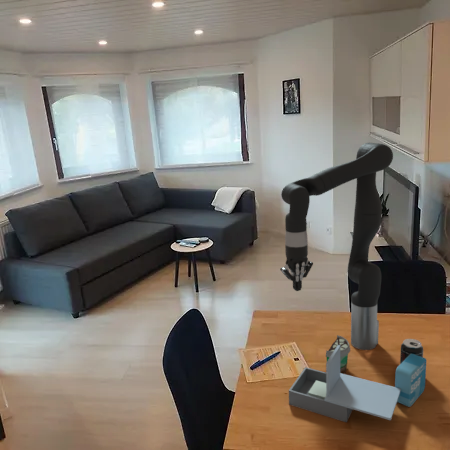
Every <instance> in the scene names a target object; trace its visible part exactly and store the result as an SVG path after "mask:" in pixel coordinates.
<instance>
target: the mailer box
mask: <svg viewBox="0 0 450 450" xmlns="http://www.w3.org/2000/svg"><path fill="white" fill-rule="evenodd" d="M325 397H326V372H325V371H321V370H318V369H314V368H311V367H310V368H309V367H307V366H305V367H304V368H303V370H301V373H300V374H299V376H297V378H296V379H295V381H294V382H293V384H292V385H291V386H290V388H289V389H288V405H290V406H293V407H296V408H299V409H303V410H306V411H309V412H311V413H315V414H318V415H321V416H325V417H328V418H331V419H334V420H337V421H340V422H344V423H348V421H349V418H350V417H351V414H352V412H353V411H354V409H350V408H347V407H343V406H340V405H336V404H333V403H330V402H326V401H324V399H325Z"/></svg>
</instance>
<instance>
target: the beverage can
mask: <svg viewBox="0 0 450 450" xmlns="http://www.w3.org/2000/svg"><path fill="white" fill-rule="evenodd" d="M410 354H414V355H417V356H420V357H423V358H424V346H422V342H421V341H420V340H418V339H415V338H405V339H404V340H403V341H402V343H401V344H400V356H399V358H400V359H399V363H400V364H401V363H402V362H403V361H404V360H405V359H406V358H407V357H408V356H409V355H410ZM400 364H399V365H400Z"/></svg>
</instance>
